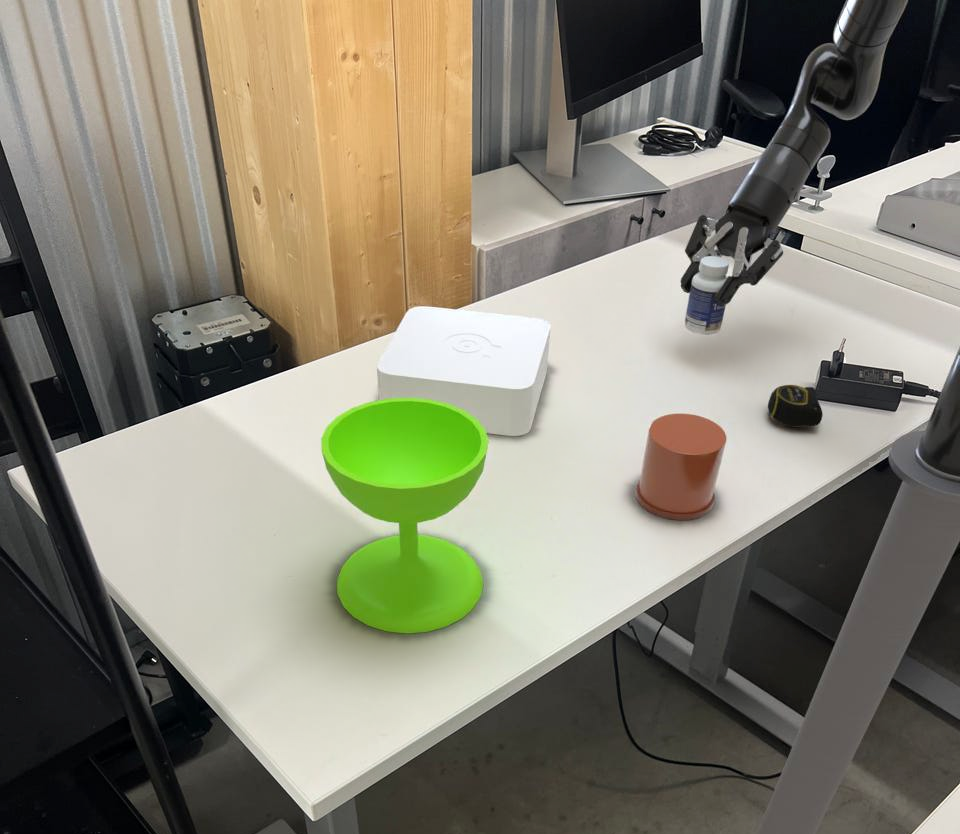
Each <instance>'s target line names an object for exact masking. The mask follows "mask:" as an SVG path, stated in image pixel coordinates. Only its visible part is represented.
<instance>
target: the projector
mask: <svg viewBox="0 0 960 834" xmlns="http://www.w3.org/2000/svg"><path fill="white" fill-rule="evenodd" d="M550 337H551V324H550V323H549V321H546V320H545V319H542V318H537V317H530V316H529V317H528V316H521V315H511V314H504V313H503V314H502V313H494V312H493V313H492V312H485V311H472V310H464V309H456V308H455V309H454V308H445V307H438V306H429V305H427V306H426V305H425V306H424V305H423V306H421V305H419V306H414V307H410V308H409V309H408V310H407V311H406V313H405V315H404V316H403V317H402V320H401V321H400V323H399V325H398V326H397V328H396V330H395V331H394V333H393V336H392V338H391V339H390V340H389V342H388V344H387V346H386V348H385V350H384V351H383V353H382V355H381V357H380V359H379V360H378V362H377V364H376V376H377V377H376V379H377V395H378V400H384V399H390V398H419V399H430V400H434V401H438V402H443V403H447V404H450V405H452V406H455V407H457V408H459V409H462V410H464V411H466V412H467V413H469V414H470V415H471V416H473V417H474V418H476V419H477V420H478V421H479V422H480V424H481V425H482V426H483V428H484V429H485V430H486V434H492V435H497V436H498V435H499V436H508V437H519V436H524V435H527V434H528V433H529V432H531V429H532V426H533V422H534V419H535V415H536V412H537V409H538V405H539V401H540V398H541V394H542V391H543V388H544V383H545V380H546V376H547V373H548V364H549V363H548V361H549V350H550Z"/></svg>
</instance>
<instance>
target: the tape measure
mask: <svg viewBox="0 0 960 834" xmlns="http://www.w3.org/2000/svg"><path fill="white" fill-rule="evenodd" d="M767 411H768V414H769V415H770V417H771V418H772V420H774V421H776V422H777V423H778V424H781V425H783V426H787V427H790V428H791V427H792V428H801V427H816V426H819V425H820V424H821V422H822V419H823V409H822V406H821V404H820V402H819V397H818V393H817V390H816V389H815V387H812V386H806V387H803V386H800V385H796V384H784V385H780V386H777V387H776V388H775V389H774V390H773V391H772V393H771V394H770V396H769V399H768V403H767Z"/></svg>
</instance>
